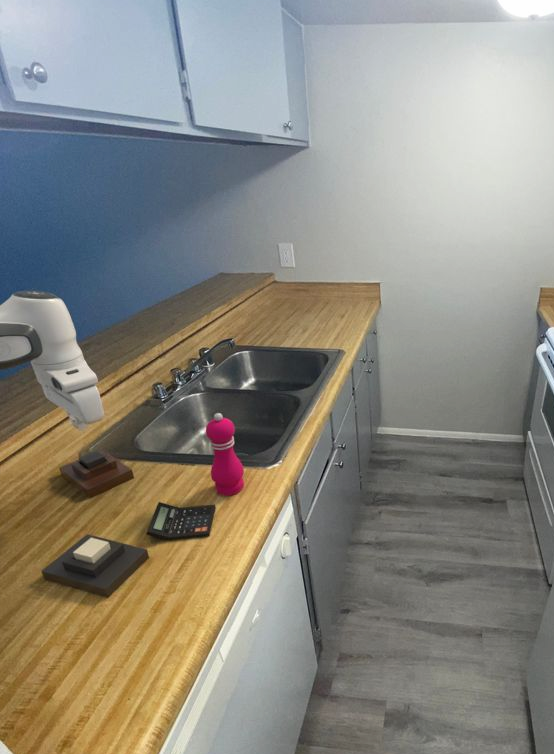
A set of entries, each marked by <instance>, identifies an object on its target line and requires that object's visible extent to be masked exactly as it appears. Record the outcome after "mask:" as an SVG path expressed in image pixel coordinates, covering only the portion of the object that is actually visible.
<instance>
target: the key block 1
mask: <svg viewBox="0 0 554 754" xmlns="http://www.w3.org/2000/svg"><path fill="white" fill-rule="evenodd" d="M98 452H99V453H101V454H102V455H104V456H105V459H106V462H104V463H102V464H99V465H97V466H95V467H92V468H90V469H87V468H86V467H84V466H83V465H82V464H81V463H80V461H79V459H77V460H75V461H72V462H69V463H67V464H65V465H61V466H59V467H58V469H59V472H60V475H61V477H62V478H64V479H65V480H66V481H67V482H69V483H70V484H71V485H73V486H74V487H75V488H76V489H77V490H79V491H80V492H81V493H83V495H85V496H86V497H88V498H89V499H93V498H94V497H97V496H99V495H102V494H103V493H106V492H108V491H110V490H112V489H114V488H116V487H118V486H121V485H123V484H125V483H127V482H129V481H131V480H133V479H135V475H134V472H133V469H132V468H130V467H128V466H127V465H126V464H125V463H123V462H122V461H120V460H118V459H117V458H115V456H112V455H111V454H110V453H108V452H107V451H105V450H104V449H102V450H98Z"/></svg>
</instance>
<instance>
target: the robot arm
mask: <svg viewBox="0 0 554 754" xmlns="http://www.w3.org/2000/svg"><path fill="white" fill-rule="evenodd" d="M29 362H30V364H31V366H32V369H33V372H34V375H35V377H36V380H37V382H38V384H40V386H41V388H42V392H43V394H44V396H45V397H46V399H47V400H49V402H51V403H53V404H54V405H55V406H57V407H59V408H61V409H62V410H64V411H65V413H66V415H67V417H68V418H69V419H70V422H71V424H72V426H73V427H74V428H76V429H77V430H79V431H84V430H86V429H88V428H89V426H88V425H91V424H94V423H98V422H100V421H102V420H103V419H104V416H105V412H104V406H103V402H102V398H101V394H100V391H99V389H98V386H96V385H97V384H98V383H99V378H98V376H97V374H96V372H94V371H93V370H92V368H91V367H89V365H88V363H87V361H86V360H85V357H84V353H83V351H82V349H81V347H80V346H79V344H78V342H77V330H76V328H75V324H74V322H73V319H72V317H71V314H70V312H69V310H68V307H67V305H66V304H65V302H64V300H63V299H62V298H60V297H59V296H57V295H56V294H53V293H51V292H48V291H44V290H43V291H42V290H20V291H17V292H13V293H12V294H11V296H10V297H9V298H8V299H6V300H5V301H4V302H3V303H2V304H0V371H4V370H8V369H12V368H14V367H18V366H21V365H23V364H27V363H29Z"/></svg>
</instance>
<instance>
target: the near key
mask: <svg viewBox="0 0 554 754" xmlns="http://www.w3.org/2000/svg"><path fill="white" fill-rule="evenodd" d="M110 549H111V548H110V545H109V542H106V541H102V540H98V539H94V538H90V539H89V540H88V541H86V542H85V543H84V544H83V545H81V546H80V547H79V548H78V549H77V550H75V551H74V552H73V554H74V556H75V559H76V560H80V561H83V562H87V563H91V564H94V563H95V562H96V561H97V560H98V559H100V558H101V557H102V556H103V555H104V554H105V553H107V552H108V551H109V550H110Z"/></svg>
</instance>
